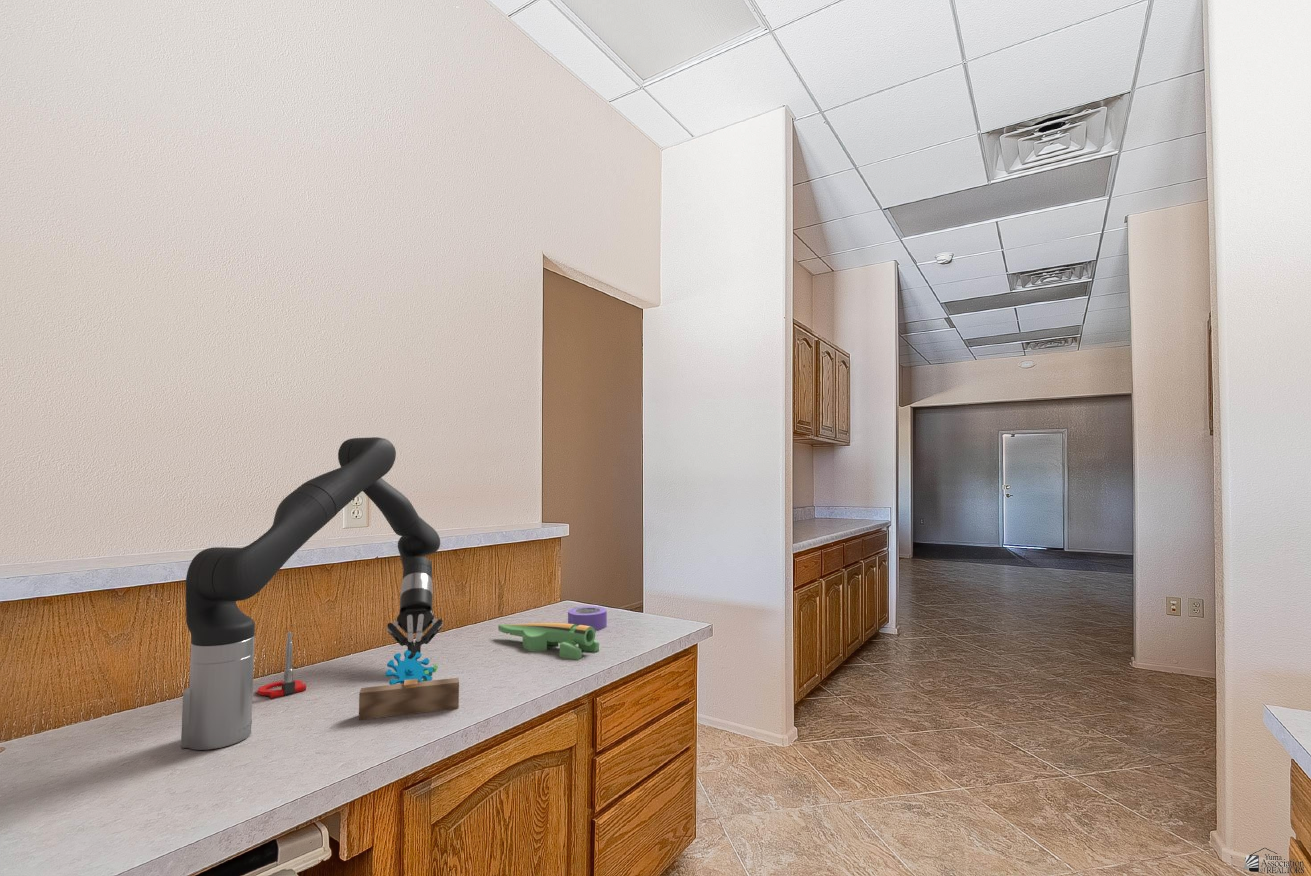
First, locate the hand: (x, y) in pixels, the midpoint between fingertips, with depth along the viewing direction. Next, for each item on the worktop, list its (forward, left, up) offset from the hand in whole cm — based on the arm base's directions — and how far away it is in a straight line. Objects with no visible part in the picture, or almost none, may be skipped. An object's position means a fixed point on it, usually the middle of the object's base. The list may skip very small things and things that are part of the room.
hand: (413, 659), depth 142 cm
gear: (+1, -9, -4) cm, 10 cm away
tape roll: (+42, +40, -4) cm, 58 cm away
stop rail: (+4, -22, -4) cm, 22 cm away
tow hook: (-26, -5, -4) cm, 27 cm away
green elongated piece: (+29, +20, -4) cm, 35 cm away
